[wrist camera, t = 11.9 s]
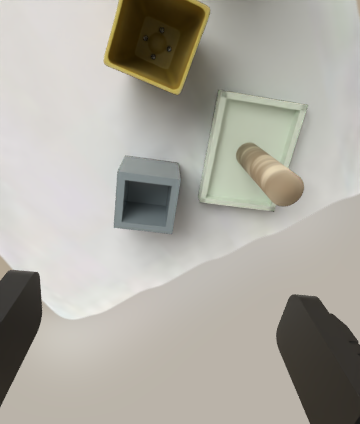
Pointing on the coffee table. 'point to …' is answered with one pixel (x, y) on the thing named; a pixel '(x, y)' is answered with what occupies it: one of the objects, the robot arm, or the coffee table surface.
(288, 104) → the tray
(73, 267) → the coffee table surface
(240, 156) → the dowel
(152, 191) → the grey square box
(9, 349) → the robot arm
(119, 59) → the flower pot
